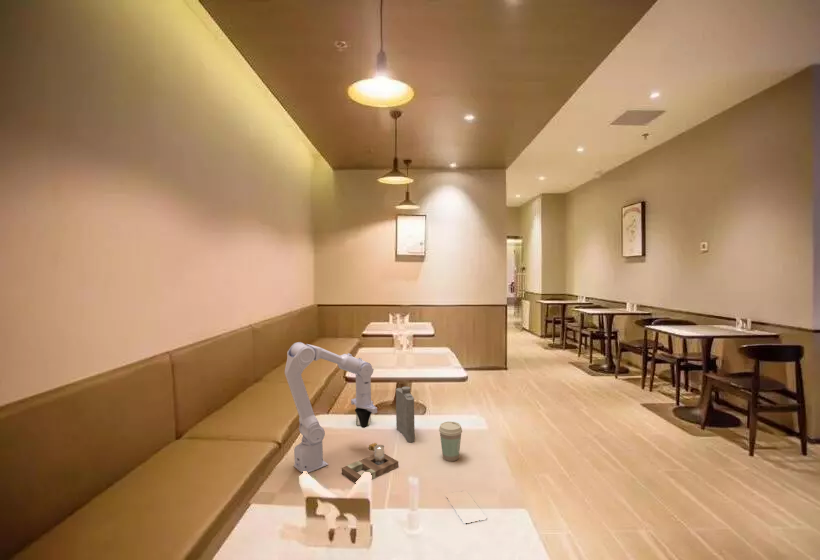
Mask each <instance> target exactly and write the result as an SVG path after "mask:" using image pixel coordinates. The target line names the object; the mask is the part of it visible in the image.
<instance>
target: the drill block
mask: <svg viewBox="0 0 820 560" xmlns="http://www.w3.org/2000/svg"><path fill="white" fill-rule="evenodd" d="M397 468H399V461H398V460H397V459H394V458H393V457H392V456H390V455H388V454H386V453H384V463H383V464H381V465H377V464H375V453H374V454H372V455H370V456H367V457H364V458H362V459H359V460H358V461H355V462H352V463H350V464H347V465H345V466H343V467H341V474H342V475H343V476H344V477H346V478H348V479H349V480H350V481H352V482H353V483H355V482H356V481H357V480H358V479H359V478H360V477H361V475H362V474H363V473H364V472H370V473H371V475H372V479H371V480H373V479H376V478H377V477H379V476H382V475H384V474H386V473H388V472H390V471H393V470H394V469H397ZM360 471H363V472H360ZM359 472H360V473H359ZM355 484H356V483H355Z"/></svg>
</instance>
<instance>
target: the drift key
mask: <svg viewBox="0 0 820 560" xmlns="http://www.w3.org/2000/svg"><path fill="white" fill-rule="evenodd" d="M376 445H378V443H377V442H373V443H371V444H369V445H368V450H369V451H370V452H374V453H375V450H374V447H375V446H376Z"/></svg>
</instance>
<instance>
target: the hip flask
mask: <svg viewBox="0 0 820 560" xmlns="http://www.w3.org/2000/svg"><path fill="white" fill-rule="evenodd" d="M395 407H396V408H395V410H396V411H395V413H396V414H395V415H396V416H395V417H396V418H395V419H396V420H395V421H396V427H395V428H396V431H398V432H399V433H401V435H403V438H404V439H405V440H406V443H409V444H412V443H415V440H416V439H415V430H416V429H415V398H414V396H413V395H412V394H411V386H402V387H397V388H396V389H395Z"/></svg>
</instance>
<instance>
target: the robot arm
mask: <svg viewBox="0 0 820 560" xmlns="http://www.w3.org/2000/svg"><path fill="white" fill-rule="evenodd" d="M286 353H287V354H286V356H287V359H286V363H285V366H284V367H285V368H284V376H285V378H286V381H287V384H288V387H289V388H288V389H289V390H290V394H291V396H292V399H293V402H294V405H295V408H296V410H297V414H298V417H299V419H298V422H299V427H298V428H299V429H298V430H299V433H300V434H301V435H302V438H301V442H299V444H297V445H295V446H294V448H293V451H294V452H293V454H294V457H293V459H294V460H293V461H294V464H293V467H294V468H295V469H297V470H298V471H299V472H301V473H302V472H303V471H307V472H308V473H312V472H314V471H316V470H319V469H322V468H324V467H326V466H328V465H329V464H328V462H326V461H325V460H324V454H323V453H324V450H323V443H324V442H323V440H324V438H325V434H326V432H325V429H324V427H322V426H321V424H320V422H319V420H318V418H317V417H316V415H315V413H314V409H313V406H312V403H311V400H310V398H309V394H308V391H307V389H306V386H305V381H304V379H303V376H302V374H303V372H304V370H305V369H306V368H308V367H309V366H310V365H311V363H312V362H313V361H315V362H316V361H319V360H320V359H321V360H324V361H327V362H330V363H334V364H336V365H337V367H338V369H340V370H343V371H346V372H348V373H350V374H351V373H352V374H355V398H351V399H350V404H351V405H353V406H355V409H354V412H355V415H356V414H357V416H358V418H359V421H360V425H361V426H360V425H359V426H360V427H361V428H362V429H366V428H368V421H369V418H370V415H371V416H372V415H375V414H377V413H378V407H377V406H375V405H374V401H373V400H372V385H371V384H372V379H371V378H372V375H373V373H374V368H373V366H372V364H371V363H370V362H368V361H367V360H366V361H365V360H363V359H362V358H361V357H358V358H357V357H354V356H353V354H351V353H349V352H347V353H342V354H337V353H335V352H332V351H330V350H327V349H325V348H323V347H320V346H318V345H317V346H316V345H313V344H308V343H306V344H305V343H304V342H302V341H298V342H294V343H293V344H291V346H290V347H289V349H288V350H287V352H286ZM356 407H358V408H357V409H356ZM308 473H307V474H308Z"/></svg>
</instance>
